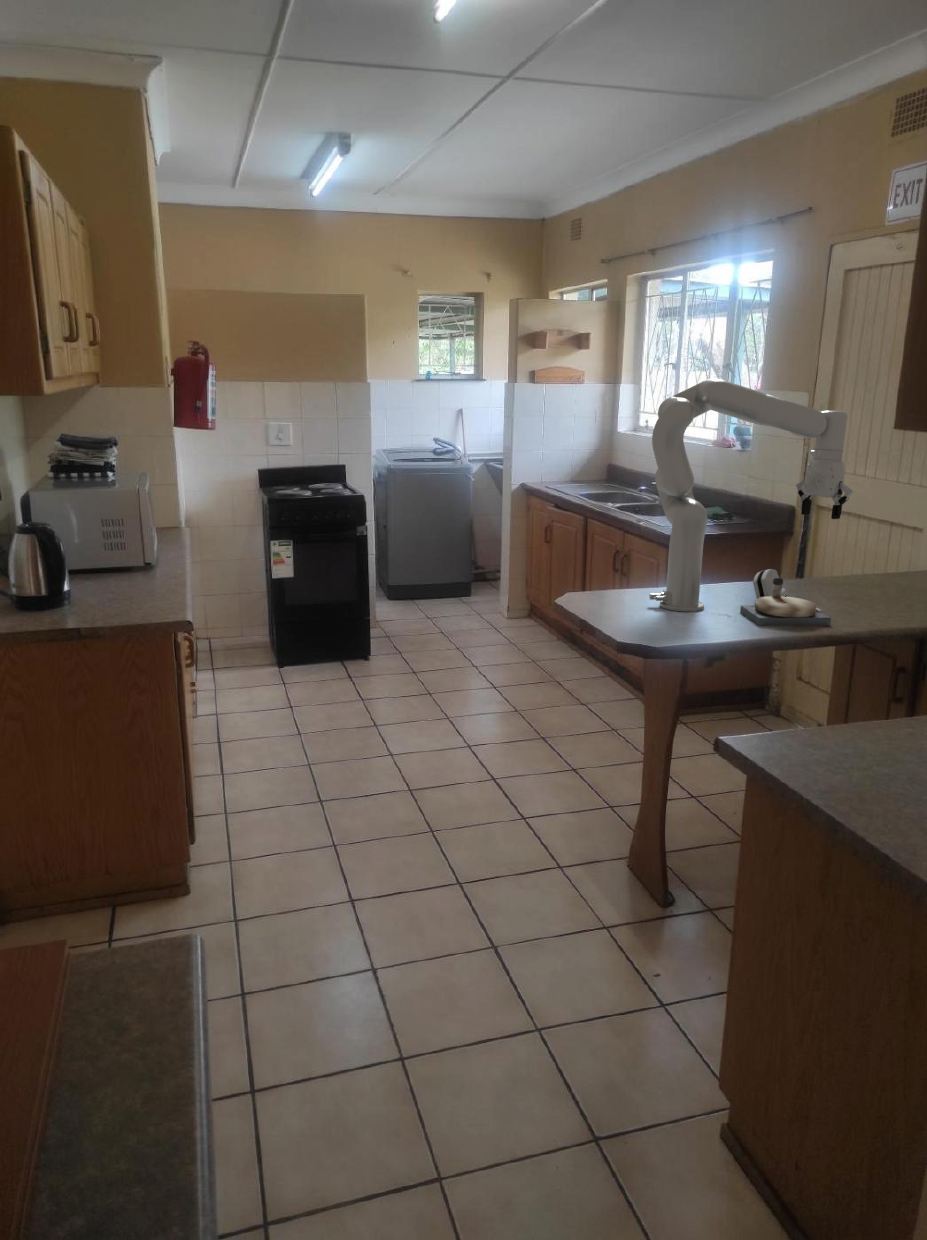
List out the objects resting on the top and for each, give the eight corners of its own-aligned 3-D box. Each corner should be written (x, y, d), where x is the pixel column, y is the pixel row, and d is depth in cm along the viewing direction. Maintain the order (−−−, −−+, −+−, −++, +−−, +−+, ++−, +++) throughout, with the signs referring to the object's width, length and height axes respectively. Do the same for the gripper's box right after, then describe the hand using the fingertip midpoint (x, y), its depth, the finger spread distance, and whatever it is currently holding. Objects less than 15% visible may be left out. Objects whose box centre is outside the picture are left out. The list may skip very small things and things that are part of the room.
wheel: (767, 617, 236) (770, 588, 234) (746, 602, 251) (749, 575, 249) (825, 617, 237) (829, 588, 235) (800, 602, 252) (803, 575, 250)
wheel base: (758, 625, 238) (759, 615, 237) (740, 612, 251) (740, 603, 250) (830, 625, 239) (831, 615, 238) (808, 612, 252) (809, 602, 251)
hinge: (774, 605, 259) (766, 573, 258) (758, 608, 262) (750, 576, 261) (787, 594, 273) (779, 563, 272) (772, 597, 276) (764, 567, 275)
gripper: (793, 453, 250) (786, 513, 254) (847, 458, 236) (839, 521, 240) (809, 452, 254) (802, 511, 258) (864, 457, 240) (855, 519, 244)
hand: (820, 516), depth 249 cm, fingers open, 9 cm apart
